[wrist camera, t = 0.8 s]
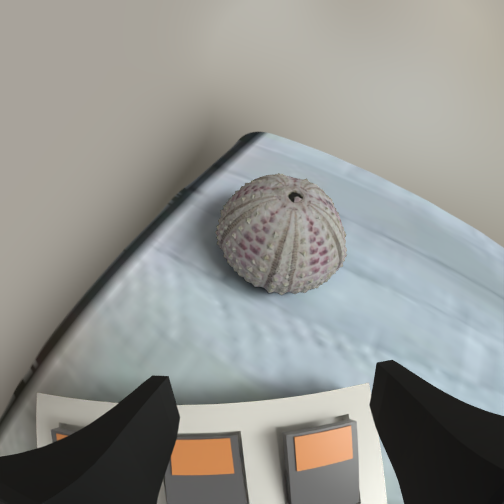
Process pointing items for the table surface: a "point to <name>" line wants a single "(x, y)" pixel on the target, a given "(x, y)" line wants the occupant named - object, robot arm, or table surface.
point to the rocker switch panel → (250, 434)
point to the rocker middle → (205, 471)
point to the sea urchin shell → (282, 234)
